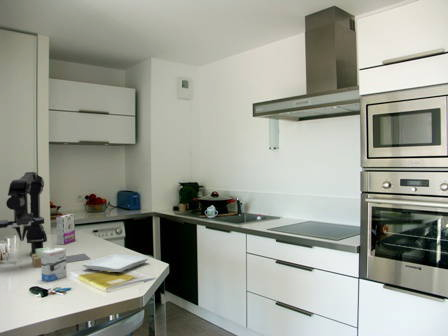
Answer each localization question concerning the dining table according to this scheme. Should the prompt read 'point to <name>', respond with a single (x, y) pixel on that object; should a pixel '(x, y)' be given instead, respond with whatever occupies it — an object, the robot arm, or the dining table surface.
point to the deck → (36, 261)
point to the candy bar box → (65, 229)
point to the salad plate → (115, 263)
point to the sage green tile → (38, 251)
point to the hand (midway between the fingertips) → (21, 240)
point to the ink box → (53, 264)
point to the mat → (76, 258)
